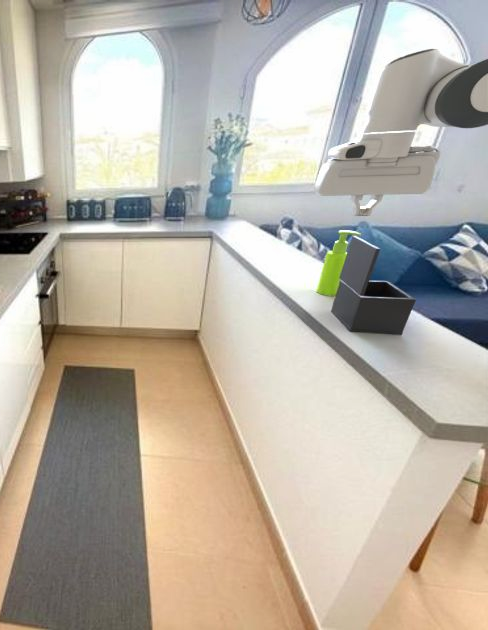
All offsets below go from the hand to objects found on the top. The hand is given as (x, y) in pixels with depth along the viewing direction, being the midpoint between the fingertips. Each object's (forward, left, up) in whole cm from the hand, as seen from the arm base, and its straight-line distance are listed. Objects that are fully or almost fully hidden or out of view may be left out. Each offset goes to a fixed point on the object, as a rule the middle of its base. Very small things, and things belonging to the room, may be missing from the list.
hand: (360, 215), depth 78 cm
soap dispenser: (-10, -27, -30) cm, 42 cm away
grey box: (-11, -6, -30) cm, 32 cm away
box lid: (-6, -6, -14) cm, 16 cm away
